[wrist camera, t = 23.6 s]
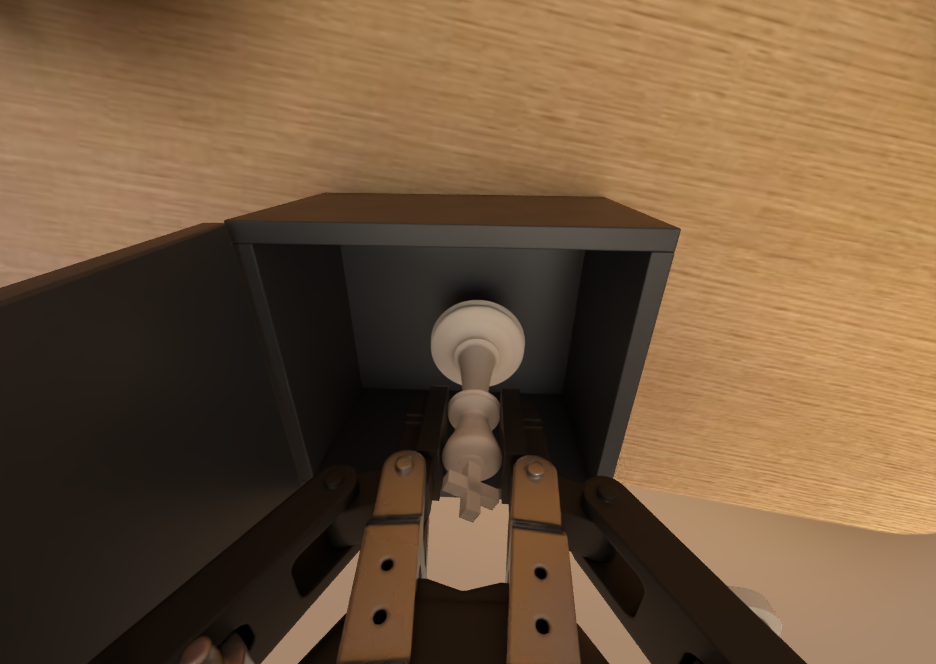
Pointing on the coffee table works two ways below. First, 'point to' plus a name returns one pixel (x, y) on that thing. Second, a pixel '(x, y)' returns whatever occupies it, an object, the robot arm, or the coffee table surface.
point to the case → (433, 292)
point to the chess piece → (475, 394)
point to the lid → (127, 438)
